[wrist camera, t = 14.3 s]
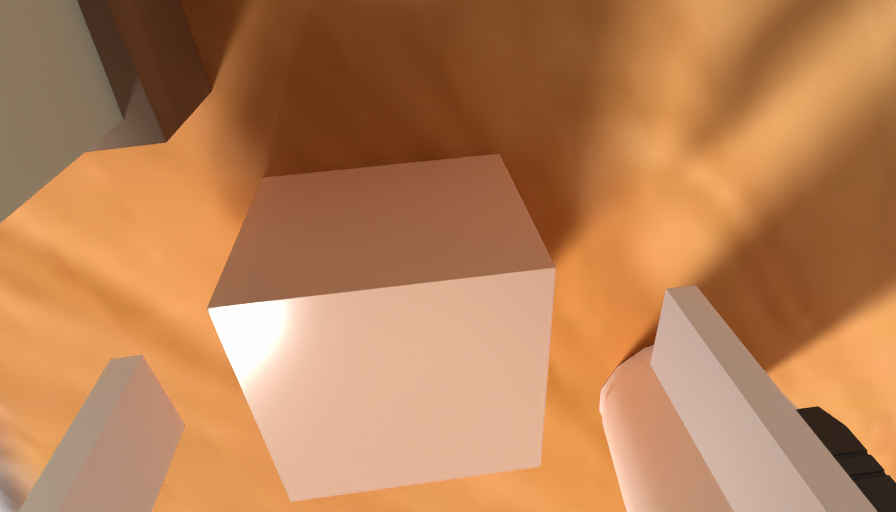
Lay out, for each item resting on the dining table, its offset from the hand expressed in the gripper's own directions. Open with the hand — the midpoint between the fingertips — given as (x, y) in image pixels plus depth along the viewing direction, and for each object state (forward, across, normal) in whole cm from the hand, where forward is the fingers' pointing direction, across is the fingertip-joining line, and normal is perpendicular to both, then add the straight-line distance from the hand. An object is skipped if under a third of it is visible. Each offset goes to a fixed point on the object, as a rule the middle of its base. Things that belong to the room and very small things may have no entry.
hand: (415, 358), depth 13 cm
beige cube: (+5, 0, 0) cm, 5 cm away
